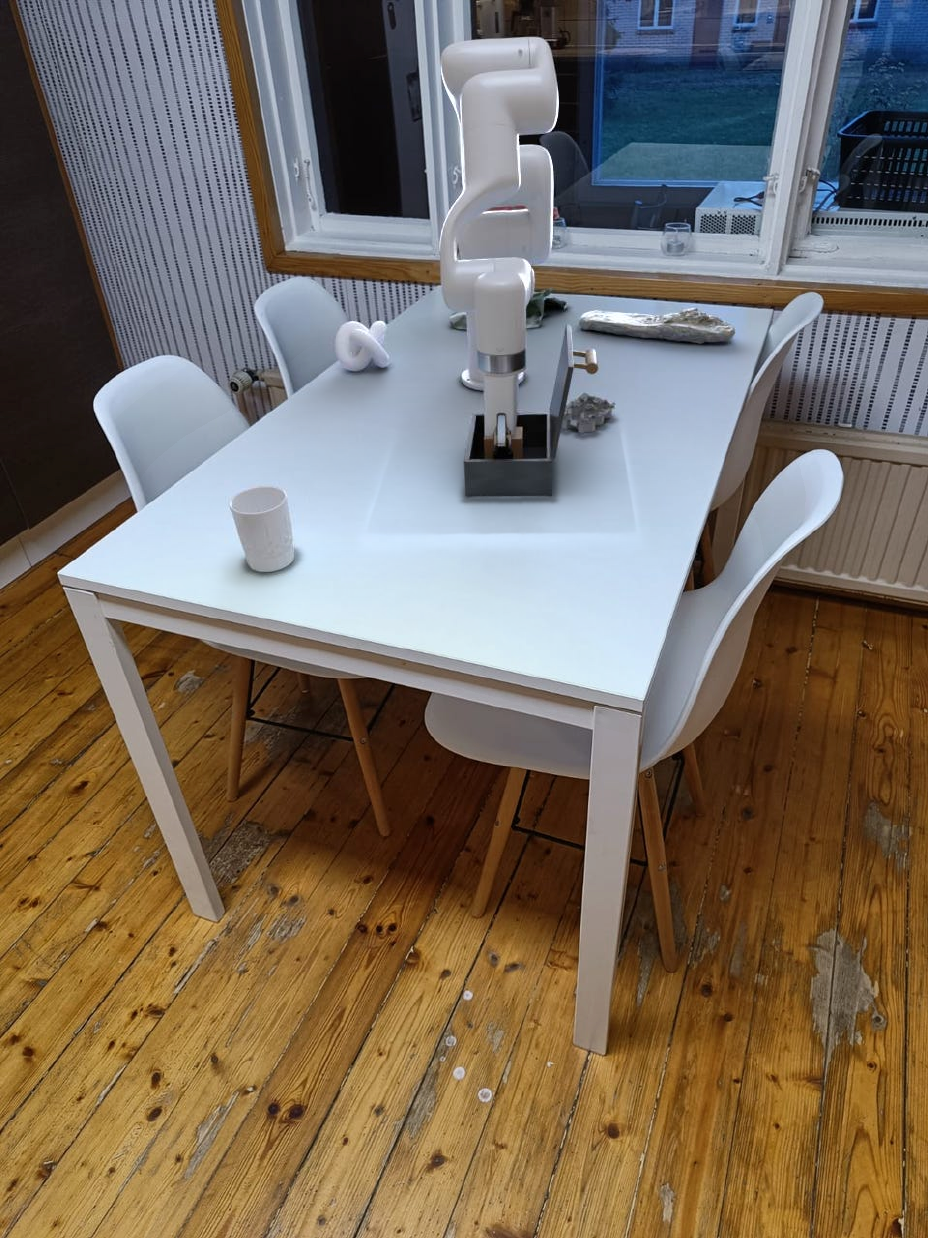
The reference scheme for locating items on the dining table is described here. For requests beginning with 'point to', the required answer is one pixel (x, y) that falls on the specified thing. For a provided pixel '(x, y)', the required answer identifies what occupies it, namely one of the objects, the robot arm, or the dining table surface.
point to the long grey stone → (661, 325)
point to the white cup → (264, 527)
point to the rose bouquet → (535, 302)
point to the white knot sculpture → (361, 345)
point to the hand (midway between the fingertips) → (504, 465)
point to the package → (515, 442)
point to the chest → (510, 461)
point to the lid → (566, 384)
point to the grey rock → (586, 413)
